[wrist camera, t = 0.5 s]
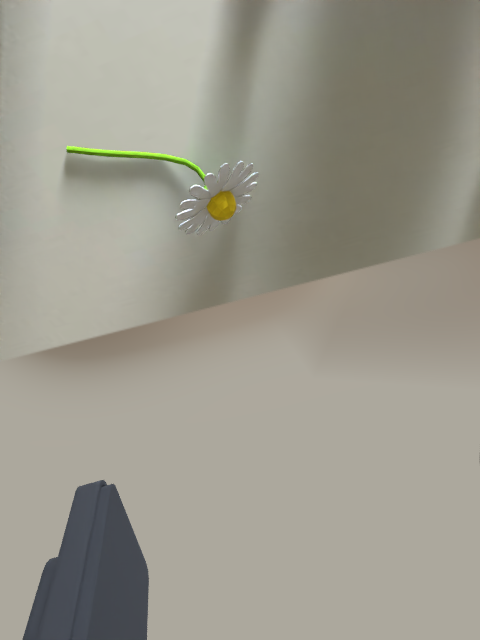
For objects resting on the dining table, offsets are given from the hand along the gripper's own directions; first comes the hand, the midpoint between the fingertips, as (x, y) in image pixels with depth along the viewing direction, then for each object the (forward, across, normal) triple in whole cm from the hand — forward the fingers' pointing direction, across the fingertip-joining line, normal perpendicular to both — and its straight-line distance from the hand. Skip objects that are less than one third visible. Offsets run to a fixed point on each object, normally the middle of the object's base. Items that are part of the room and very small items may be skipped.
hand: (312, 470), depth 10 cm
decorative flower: (+29, +2, -6) cm, 30 cm away
